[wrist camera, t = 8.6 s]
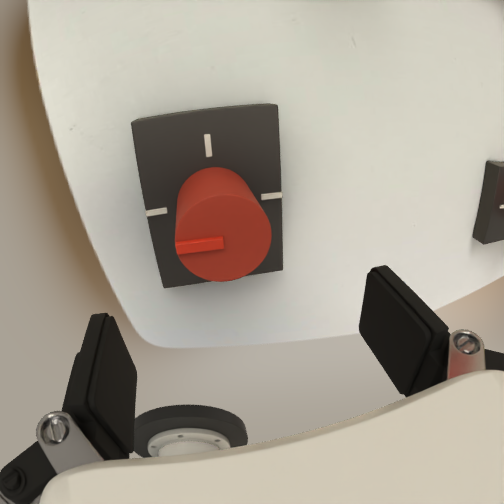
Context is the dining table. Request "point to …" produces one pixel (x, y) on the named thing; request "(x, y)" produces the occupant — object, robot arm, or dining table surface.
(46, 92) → the dining table surface
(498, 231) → the dark square slab
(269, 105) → the dark tick-marked fixture
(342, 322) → the dining table surface
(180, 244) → the near red knob
